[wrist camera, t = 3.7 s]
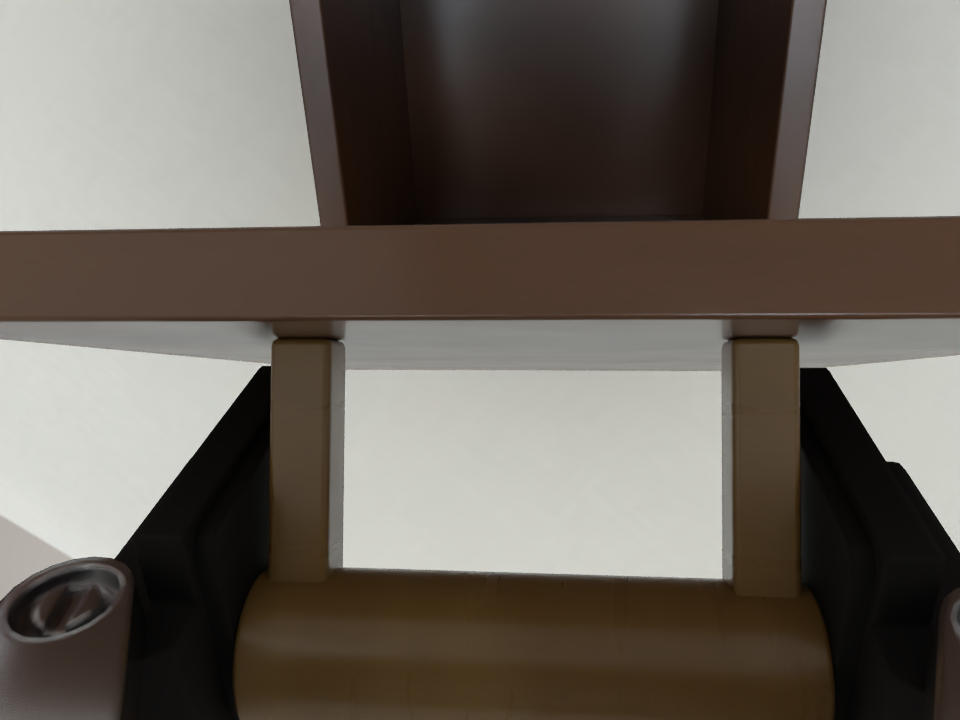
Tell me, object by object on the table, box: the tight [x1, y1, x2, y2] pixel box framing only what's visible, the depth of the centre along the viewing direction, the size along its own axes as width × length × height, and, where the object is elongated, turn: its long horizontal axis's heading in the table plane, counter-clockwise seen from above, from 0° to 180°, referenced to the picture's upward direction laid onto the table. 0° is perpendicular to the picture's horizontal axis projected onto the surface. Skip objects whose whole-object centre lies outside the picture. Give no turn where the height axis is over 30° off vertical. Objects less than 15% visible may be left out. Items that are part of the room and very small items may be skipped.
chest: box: [289, 0, 827, 226], centre depth 25 cm, size 16×13×11 cm
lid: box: [0, 216, 960, 720], centre depth 15 cm, size 16×13×5 cm
